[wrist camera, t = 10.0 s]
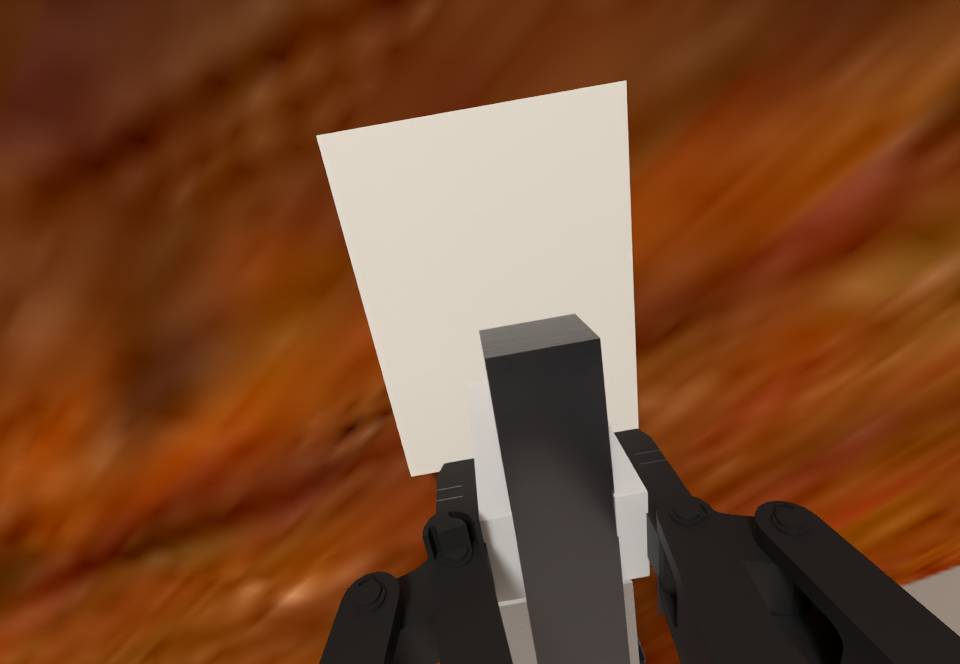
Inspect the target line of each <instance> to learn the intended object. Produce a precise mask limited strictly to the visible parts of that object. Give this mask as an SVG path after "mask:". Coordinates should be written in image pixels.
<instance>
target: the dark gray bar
mask: <svg viewBox="0 0 960 664" xmlns="http://www.w3.org/2000/svg"><path fill="white" fill-rule="evenodd" d="M479 334H480V340H481V345H482V351H483V357H484V362H485V368H486V374H487V380H488V385H489V391H490V397H491V403H492V408H493V414H494V420H495V425H496V431H497V437H498V443H499V448H500V454H501V460H502V465H503V470H504V476H505V481H506V486H507V492H508V497H509V502H510V508H511V513H512V518H513V524H514V529H515V535H516V541H517V548H518V553H519V559H520V565H521V571H522V577H523V582H524V588H525V594H526V597H525V598H520V599H514V600H508V601H502V602H498V604H499V609H500V613H501V617H502V621H503V625H504V629H505V633H506V637H507V641H508V645H509V649H510V653H511V657H512V661H513V664H640V663H639V651H638V639H637V627H636V615H635V603H634V591H633V582H632V580H631V579H629V580H623V579H622V568H621V557H620V546H619V536H617V528H616V517H615V507H614V496H613V494H615V492H614V481H613V470H612V460H611V449H610V438H609V427H608V416H607V405H606V395H605V384H604V373H603V362H602V351H601V340H600V337H599V336H598V335H597V334H596V333H595V332H593V331H592V330H591V329H590V328H589V327H588V326H587V325H586V324H585V323H584V322H583V321H582V320H581V319H580V318H579V317H578V316H577V315H576V314H570V315H564V316H559V317H553V318H547V319H542V320H536V321H530V322H525V323H519V324H513V325H508V326H502V327H496V328H491V329H485V330H479Z"/></svg>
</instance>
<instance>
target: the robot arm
mask: <svg viewBox="0 0 960 664" xmlns="http://www.w3.org/2000/svg"><path fill="white" fill-rule="evenodd" d="M468 393H469V405H470V417H471V428H472V440H473V452H474V458H472V459H466V460H460V461H455V462H449V463H444V465H443V466H442V468H441V470H440V472H439V474H438V475H437V502H436V514H435V515H434V516H433V517H431V518H430V519H429V520H428V522H427V523H426V525H425V527H424V530H423V536H422V537H423V540H424V544H425V547H426V551H427V554H428V559H427V560H426V562H424V563H423V564H422V565H421V566H420V567H419V568H417V569H415V570H414V571H412V572H410V573H408V574H406V575H404V576H402V577H400V578H397V579H396V578H395V577H394V576H392V575H391V574H389V573H386V572H374V573H370V574H366V575H365V576H363V577H361V578H359V579H358V580H356V581H355V582H354V583H353V584H352V585H351V586H350V587H349V588H348V589H347V591H346V593H345V595H344V596H343V598H342V600H341V603H340V606H339V609H338V612H337V615H336V618H335V620H334V623H333V626H332V629H331V632H330V635H329V638H328V640H327V643H326V646H325V649H324V652H323V655H322V657H321V660H320V663H319V664H436V663H438V662H440V664H513V661H512V657H511V653H510V649H509V645H508V641H507V637H506V633H505V629H504V625H503V621H502V617H501V613H500V609H499V604H498V602H502V601H508V600H514V599H520V598H525V597H526V594H525V588H524V582H523V577H522V571H521V565H520V559H519V553H518V548H517V541H516V535H515V529H514V524H513V518H512V513H511V508H510V502H509V497H508V492H507V486H506V481H505V476H504V470H503V465H502V460H501V454H500V448H499V443H498V437H497V431H496V425H495V420H494V414H493V408H492V403H491V397H490V391H489V385H488V380H482V381H476V382H470V383H468ZM608 427H609V438H610V449H611V460H612V470H613V481H614V492H615V494H613V496H614V507H615V517H616V528H617V536H619V546H620V557H621V568H622V579H623V580H629V579H634V578H640V577H646V576H650V566H649V561H650V563H651V565H652V567H653V569H654V571H655V573H656V575H657V587H658V613H659V615H663V609H664V612H665V615H666V618H667V621H668V625H669V628H670V631H671V634H672V637H673V640H674V643H675V646H676V649H677V652H678V655H679V658H680V661H681V664H960V636H958V635H957V634H956V633H955V632H954V631H952V630H951V629H950V628H949V627H948V626H947V625H945V624H944V623H943V622H942V621H940V620H939V619H938V618H937V617H936V616H935V615H934V614H932V613H931V612H930V611H929V610H928V609H926V608H925V607H924V606H923V605H922V604H921V603H919V602H918V601H917V600H916V599H915V598H913V597H912V596H911V595H910V594H909V593H908V592H906V591H905V590H904V589H903V588H902V587H900V586H899V585H898V584H897V583H896V582H895V581H893V580H892V579H891V578H890V577H889V576H887V575H886V574H885V573H884V572H883V571H882V570H880V569H879V568H878V567H877V566H876V565H875V564H873V563H872V562H871V561H870V560H869V559H867V558H866V557H865V556H864V555H863V554H862V553H860V552H859V551H858V550H857V549H856V548H854V547H853V546H852V545H851V544H850V543H849V542H847V541H846V540H845V539H844V538H843V537H841V536H840V535H839V534H838V533H837V532H836V531H834V530H833V529H832V528H831V527H830V526H828V525H827V524H826V523H825V522H824V521H823V520H821V519H820V518H819V517H818V516H817V515H815V514H814V513H812V512H811V511H809V510H808V509H806V508H804V507H802V506H799V505H796V504H794V503H790V502H783V501H772V502H766V503H764V504H762V505H760V506H759V507H758V509H757V510H756V512H755V517H753V516H741V515H730V514H724V513H719V512H716V511H714V510H713V509H712V508H711V507H710V505H709V504H707V503H706V502H704V501H702V500H701V499H699V498H696V497H693V496H691V494H690V493H689V491H688V490H687V489H686V487H685V486H684V484H683V483H682V481H681V480H680V478H679V477H678V476H677V474H676V473H675V471H674V470H673V468H672V467H671V465H670V464H669V463H668V461H666V459H665V457H664V455H663V454H662V452H661V451H659V448H658V447H657V445H656V444H655V442H654V441H653V439H652V438H651V437H650V436H648V435H647V434H645V433H644V432H642V431H641V430H639V429H631V430H625V431H620V432H613V431H612V429H611V427H610V425H609V424H608Z"/></svg>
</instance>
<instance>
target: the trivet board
mask: <svg viewBox="0 0 960 664" xmlns="http://www.w3.org/2000/svg"><path fill="white" fill-rule="evenodd" d="M316 137H317V140H318V144H319V147H320V151H321V155H322V158H323V162H324V165H325V169H326V173H327V176H328V180H329V183H330V187H331V191H332V194H333V198H334V201H335V205H336V208H337V212H338V216H339V219H340V223H341V226H342V230H343V234H344V237H345V241H346V244H347V248H348V252H349V255H350V259H351V262H352V266H353V269H354V273H355V277H356V280H357V284H358V287H359V291H360V295H361V298H362V302H363V305H364V309H365V313H366V316H367V320H368V323H369V327H370V330H371V334H372V338H373V341H374V345H375V348H376V352H377V356H378V359H379V363H380V366H381V370H382V374H383V377H384V381H385V384H386V388H387V391H388V395H389V399H390V402H391V406H392V409H393V413H394V417H395V420H396V424H397V427H398V431H399V435H400V438H401V442H402V445H403V449H404V452H405V456H406V460H407V463H408V467H409V470H410V474H411V477H412V476H417V475H423V474H429V473H434V472H440V470H441V468H442V466H443V465H444V463H449V462H455V461H460V460H466V459H472V458H474V452H473V440H472V428H471V417H470V405H469V393H468V383H470V382H476V381H482V380H487V374H486V368H485V362H484V357H483V351H482V345H481V340H480V334H479V330H485V329H491V328H496V327H502V326H508V325H513V324H519V323H525V322H530V321H536V320H542V319H547V318H553V317H559V316H564V315H570V314H576V315H577V316H578V317H579V318H580V319H581V320H582V321H583V322H584V323H585V324H586V325H587V326H588V327H589V328H590V329H591V330H592V331H593V332H595V333H596V334H597V335H598V336H599V337H600V340H601V351H602V362H603V373H604V384H605V395H606V405H607V416H608V424H609V425H610V427H611V429H612V431H613V432H620V431H625V430H631V429H638V401H637V372H636V344H635V316H634V287H633V259H632V230H631V202H630V174H629V145H628V117H627V88H626V81H620V82H615V83H609V84H604V85H598V86H592V87H587V88H581V89H576V90H570V91H564V92H559V93H553V94H548V95H542V96H536V97H531V98H525V99H519V100H514V101H508V102H503V103H497V104H491V105H486V106H480V107H475V108H469V109H463V110H458V111H452V112H447V113H441V114H435V115H430V116H424V117H418V118H413V119H407V120H402V121H396V122H390V123H385V124H379V125H374V126H368V127H362V128H357V129H351V130H346V131H340V132H334V133H329V134H323V135H317V136H316Z"/></svg>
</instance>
